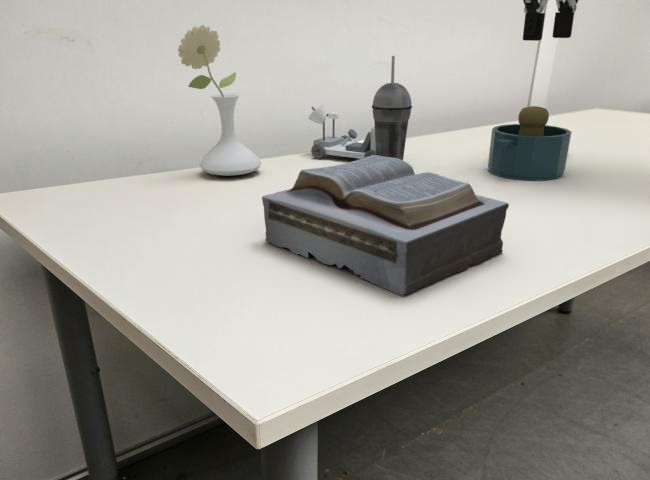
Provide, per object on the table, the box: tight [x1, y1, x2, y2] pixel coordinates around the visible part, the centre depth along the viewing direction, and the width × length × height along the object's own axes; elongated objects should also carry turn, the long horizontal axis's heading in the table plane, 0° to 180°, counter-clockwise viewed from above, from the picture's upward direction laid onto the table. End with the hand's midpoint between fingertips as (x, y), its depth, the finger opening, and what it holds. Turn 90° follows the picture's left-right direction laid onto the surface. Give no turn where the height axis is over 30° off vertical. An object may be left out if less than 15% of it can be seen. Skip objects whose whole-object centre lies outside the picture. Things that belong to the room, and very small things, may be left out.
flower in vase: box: [177, 24, 262, 177], centre depth 108 cm, size 13×11×25 cm
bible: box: [261, 155, 510, 298], centre depth 76 cm, size 23×27×10 cm
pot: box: [487, 123, 573, 182], centre depth 112 cm, size 14×19×8 cm
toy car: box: [308, 105, 376, 160], centre depth 124 cm, size 18×10×12 cm
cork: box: [517, 105, 550, 136], centre depth 111 cm, size 6×6×11 cm
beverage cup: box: [371, 55, 413, 161], centre depth 110 cm, size 7×7×20 cm
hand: (547, 39), depth 104 cm, fingers open, 9 cm apart
